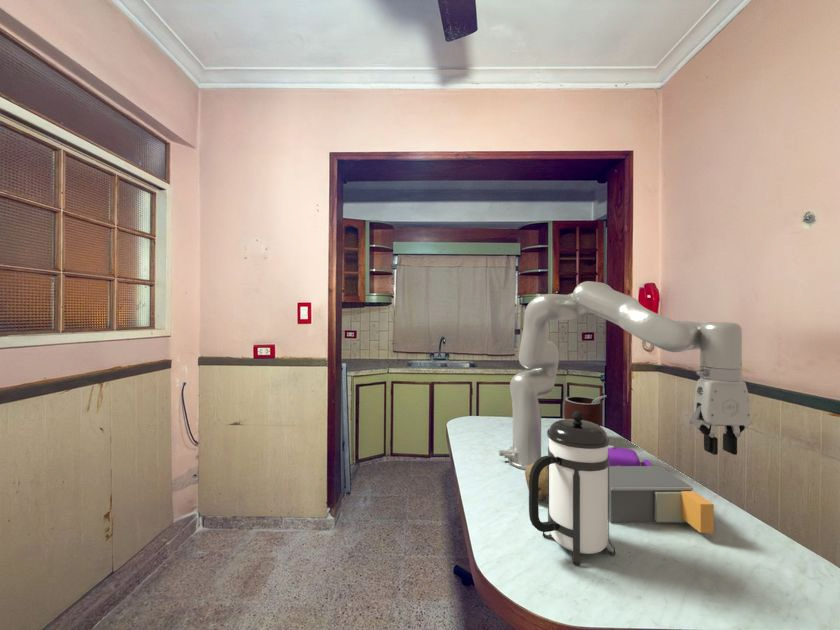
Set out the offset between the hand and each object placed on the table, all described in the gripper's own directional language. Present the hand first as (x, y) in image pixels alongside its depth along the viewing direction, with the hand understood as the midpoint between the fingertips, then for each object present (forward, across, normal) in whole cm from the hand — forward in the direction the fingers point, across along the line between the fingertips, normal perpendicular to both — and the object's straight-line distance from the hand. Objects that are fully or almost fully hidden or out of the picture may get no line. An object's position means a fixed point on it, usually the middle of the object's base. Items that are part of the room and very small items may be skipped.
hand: (720, 451), depth 84 cm
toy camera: (+20, -8, +25) cm, 33 cm away
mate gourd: (+19, -4, +59) cm, 62 cm away
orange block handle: (+18, -8, 0) cm, 20 cm away
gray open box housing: (+19, -15, +10) cm, 26 cm away
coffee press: (+19, -36, -5) cm, 42 cm away
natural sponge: (+19, -36, +16) cm, 44 cm away
